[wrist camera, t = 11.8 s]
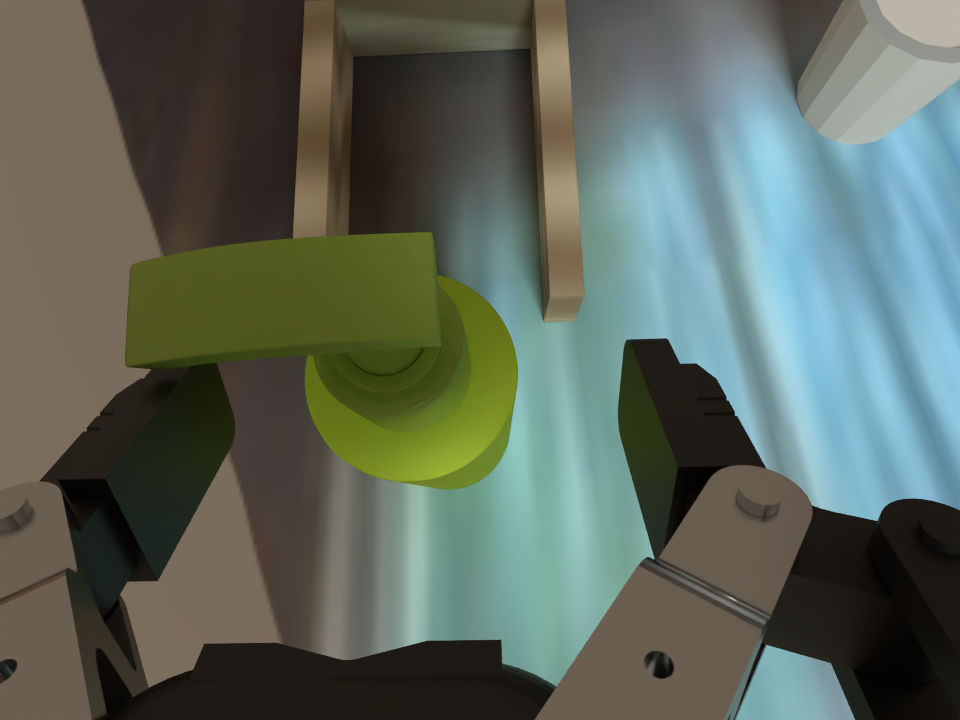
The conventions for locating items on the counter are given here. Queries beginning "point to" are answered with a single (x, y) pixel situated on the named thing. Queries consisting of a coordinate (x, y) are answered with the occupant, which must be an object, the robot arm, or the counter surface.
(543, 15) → the shelf
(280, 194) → the counter surface
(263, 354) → the soap dispenser
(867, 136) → the shot glass
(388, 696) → the robot arm
